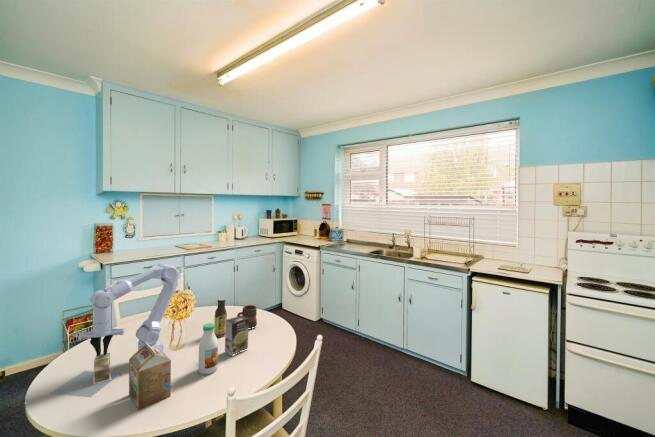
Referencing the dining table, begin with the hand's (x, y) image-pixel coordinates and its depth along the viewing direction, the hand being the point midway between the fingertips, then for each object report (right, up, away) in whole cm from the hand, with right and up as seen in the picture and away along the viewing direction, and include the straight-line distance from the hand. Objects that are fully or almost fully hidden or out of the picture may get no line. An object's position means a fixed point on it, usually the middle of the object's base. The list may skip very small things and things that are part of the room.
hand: (102, 354), depth 117 cm
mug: (+43, -9, +53) cm, 69 cm away
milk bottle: (+38, -12, +10) cm, 41 cm away
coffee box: (+45, -11, +27) cm, 54 cm away
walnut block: (0, -10, +1) cm, 10 cm away
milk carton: (+24, -12, -8) cm, 28 cm away
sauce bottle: (+32, -9, +43) cm, 54 cm away
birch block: (0, -5, 0) cm, 5 cm away
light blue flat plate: (-4, -10, -3) cm, 11 cm away
